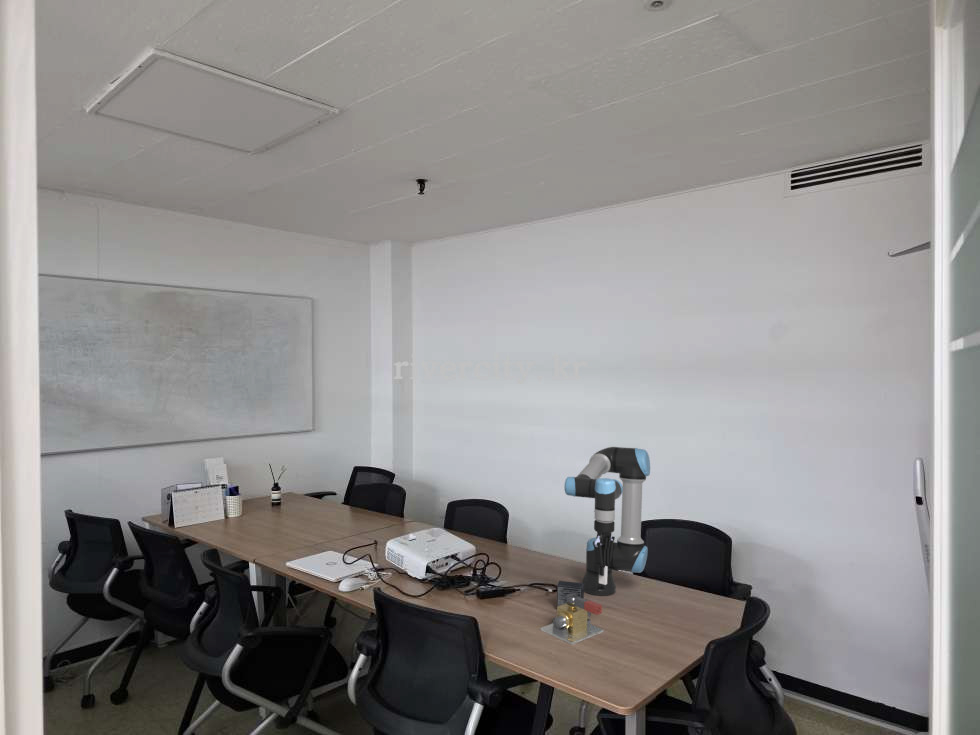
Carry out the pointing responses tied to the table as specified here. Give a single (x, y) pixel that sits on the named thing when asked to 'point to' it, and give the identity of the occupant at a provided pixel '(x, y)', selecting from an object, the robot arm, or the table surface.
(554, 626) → the valve body
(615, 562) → the robot arm
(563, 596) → the small box
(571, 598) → the lever
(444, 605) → the table surface
